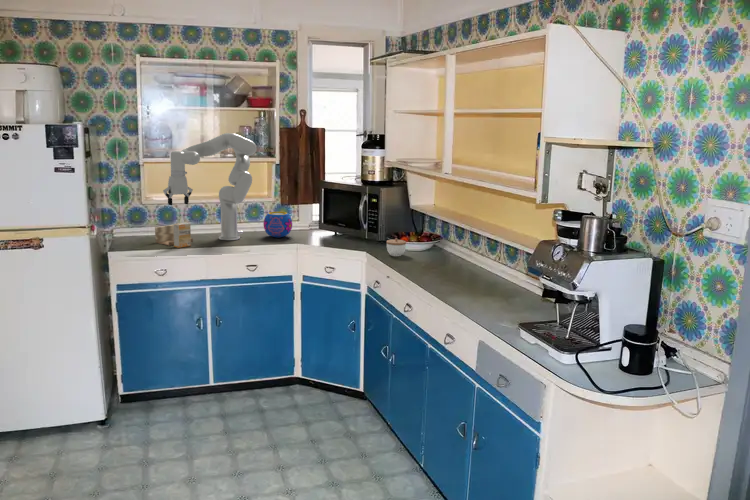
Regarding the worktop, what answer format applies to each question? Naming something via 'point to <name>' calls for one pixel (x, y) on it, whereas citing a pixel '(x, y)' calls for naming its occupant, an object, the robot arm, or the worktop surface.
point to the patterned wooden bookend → (165, 235)
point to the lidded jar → (396, 247)
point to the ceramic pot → (277, 224)
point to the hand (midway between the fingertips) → (178, 204)
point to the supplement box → (182, 235)
